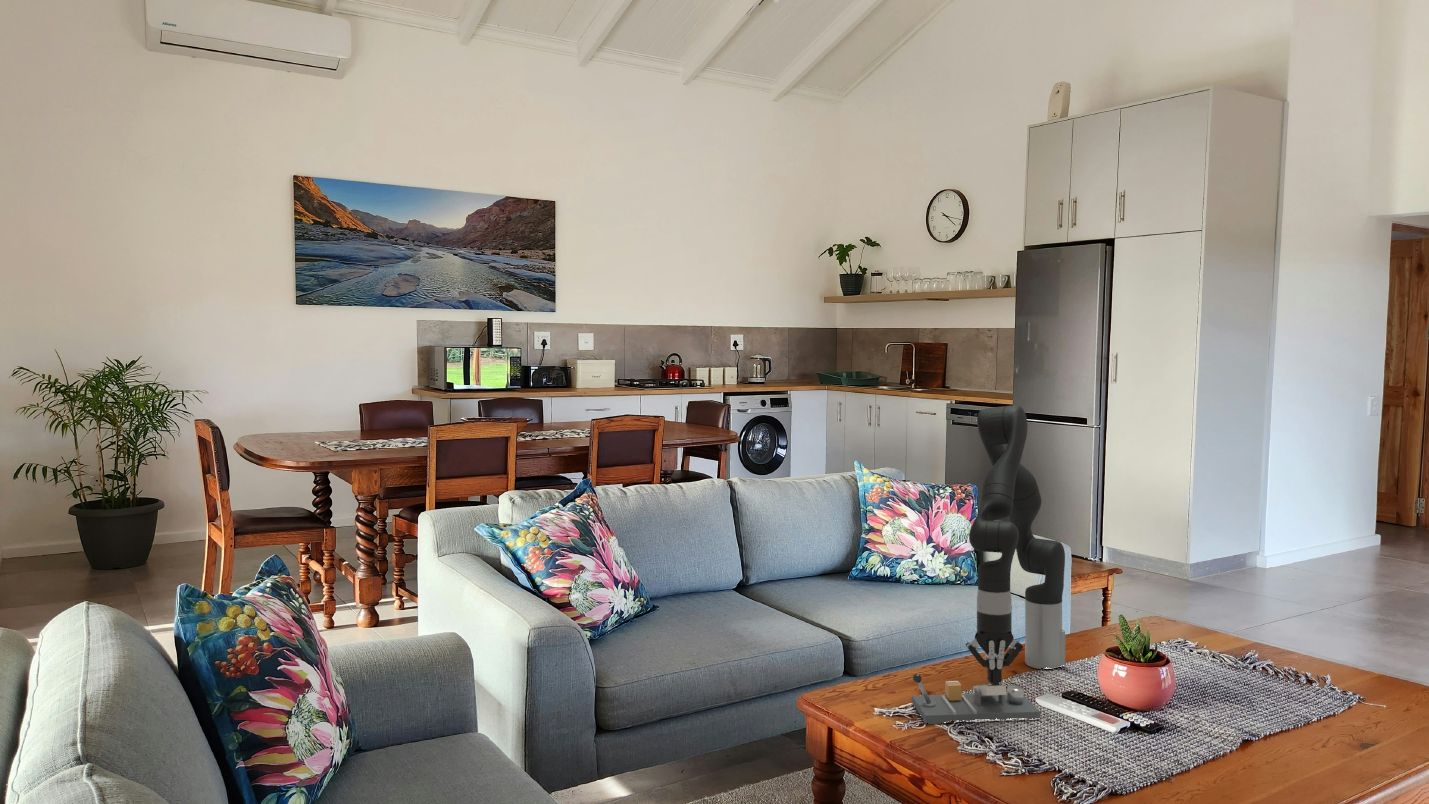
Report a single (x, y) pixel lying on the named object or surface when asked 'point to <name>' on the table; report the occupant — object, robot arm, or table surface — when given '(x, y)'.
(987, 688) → the block
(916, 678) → the toggle
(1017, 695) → the button
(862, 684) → the table surface
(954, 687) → the slider
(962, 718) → the panel
